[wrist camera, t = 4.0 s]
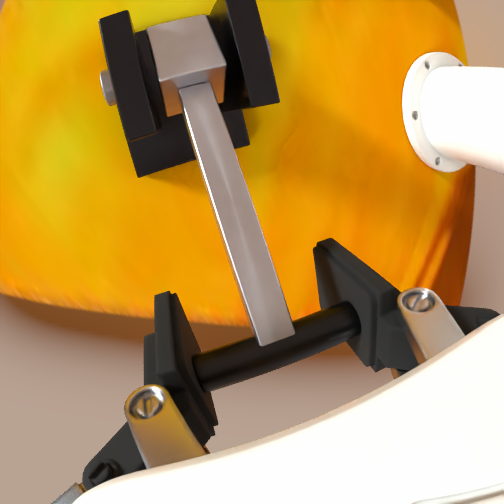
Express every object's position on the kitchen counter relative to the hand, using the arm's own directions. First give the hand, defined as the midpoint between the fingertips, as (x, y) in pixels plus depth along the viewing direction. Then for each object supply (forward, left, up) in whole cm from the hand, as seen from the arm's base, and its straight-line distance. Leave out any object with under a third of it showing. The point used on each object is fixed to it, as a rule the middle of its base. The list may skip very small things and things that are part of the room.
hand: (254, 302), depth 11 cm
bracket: (0, -9, -13) cm, 16 cm away
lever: (0, -4, -1) cm, 4 cm away
